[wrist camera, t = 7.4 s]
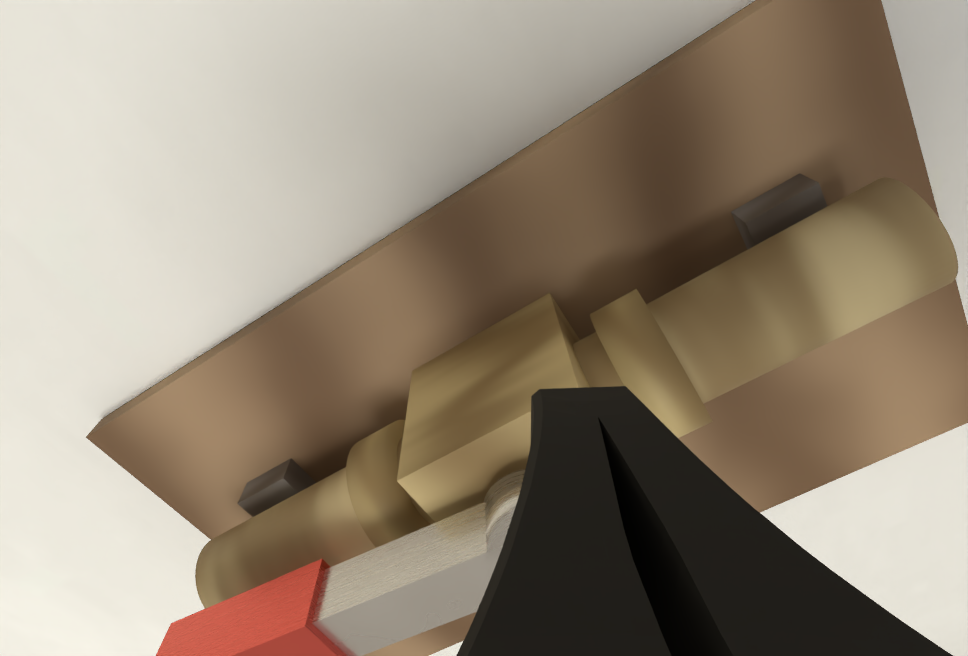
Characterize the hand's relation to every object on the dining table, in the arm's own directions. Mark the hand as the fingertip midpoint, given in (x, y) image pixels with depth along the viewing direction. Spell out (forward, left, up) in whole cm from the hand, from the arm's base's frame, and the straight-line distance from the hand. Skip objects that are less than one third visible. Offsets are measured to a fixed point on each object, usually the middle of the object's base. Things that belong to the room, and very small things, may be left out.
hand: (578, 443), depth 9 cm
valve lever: (+7, +4, -4) cm, 9 cm away
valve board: (+3, +6, -10) cm, 12 cm away
